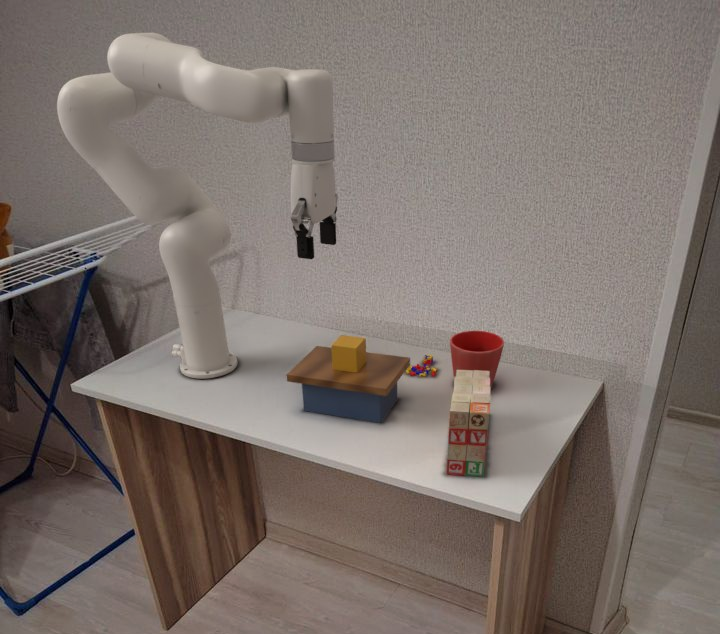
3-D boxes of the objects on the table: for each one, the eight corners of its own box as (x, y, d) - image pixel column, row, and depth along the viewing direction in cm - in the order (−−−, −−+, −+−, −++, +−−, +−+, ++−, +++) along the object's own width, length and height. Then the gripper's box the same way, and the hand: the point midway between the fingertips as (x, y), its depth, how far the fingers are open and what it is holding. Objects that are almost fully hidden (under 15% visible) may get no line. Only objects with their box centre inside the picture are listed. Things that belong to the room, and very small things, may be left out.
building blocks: (402, 374, 144) (402, 367, 144) (416, 359, 150) (417, 352, 149) (431, 379, 142) (431, 372, 141) (444, 364, 148) (444, 357, 147)
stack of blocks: (454, 413, 130) (457, 353, 123) (487, 414, 129) (492, 355, 122) (446, 475, 112) (449, 409, 105) (484, 477, 111) (490, 412, 104)
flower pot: (510, 381, 140) (514, 337, 134) (482, 401, 133) (486, 356, 128) (466, 368, 146) (468, 325, 140) (437, 387, 139) (439, 343, 133)
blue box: (304, 410, 133) (301, 378, 129) (324, 388, 140) (322, 357, 136) (380, 423, 127) (379, 390, 124) (397, 399, 135) (397, 367, 131)
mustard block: (332, 369, 128) (331, 344, 125) (342, 359, 132) (341, 334, 129) (357, 373, 126) (356, 348, 123) (366, 362, 130) (365, 337, 127)
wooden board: (286, 381, 128) (286, 374, 127) (317, 352, 138) (316, 345, 137) (386, 396, 121) (386, 388, 120) (410, 364, 132) (410, 357, 131)
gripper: (315, 143, 126) (319, 237, 136) (270, 159, 113) (278, 261, 123) (352, 145, 123) (353, 240, 133) (310, 162, 110) (315, 266, 120)
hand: (317, 250), depth 128 cm, fingers open, 9 cm apart
